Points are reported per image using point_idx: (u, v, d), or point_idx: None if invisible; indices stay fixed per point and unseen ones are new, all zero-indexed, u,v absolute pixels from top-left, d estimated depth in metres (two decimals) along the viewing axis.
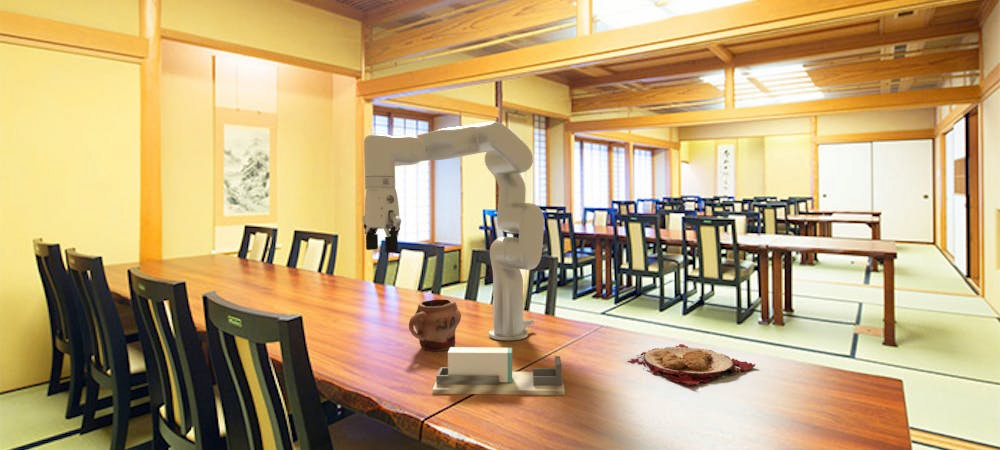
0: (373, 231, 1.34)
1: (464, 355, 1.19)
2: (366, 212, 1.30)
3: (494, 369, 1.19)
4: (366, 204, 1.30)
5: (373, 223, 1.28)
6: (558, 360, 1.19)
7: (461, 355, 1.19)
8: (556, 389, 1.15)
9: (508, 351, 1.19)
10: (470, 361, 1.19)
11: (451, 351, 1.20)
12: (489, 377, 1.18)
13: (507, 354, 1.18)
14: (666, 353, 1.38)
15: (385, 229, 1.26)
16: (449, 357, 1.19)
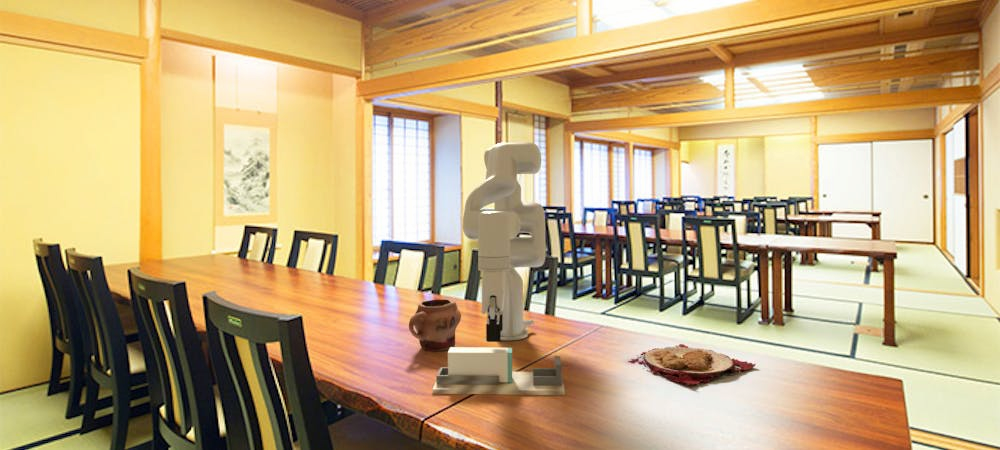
0: None
1: (464, 355, 1.19)
2: (503, 296, 1.16)
3: (494, 369, 1.19)
4: (503, 287, 1.16)
5: None
6: (558, 360, 1.19)
7: (461, 355, 1.19)
8: (556, 389, 1.15)
9: (508, 351, 1.19)
10: (470, 361, 1.19)
11: (451, 351, 1.20)
12: (489, 377, 1.18)
13: (507, 354, 1.18)
14: (666, 353, 1.38)
15: None
16: (449, 357, 1.19)
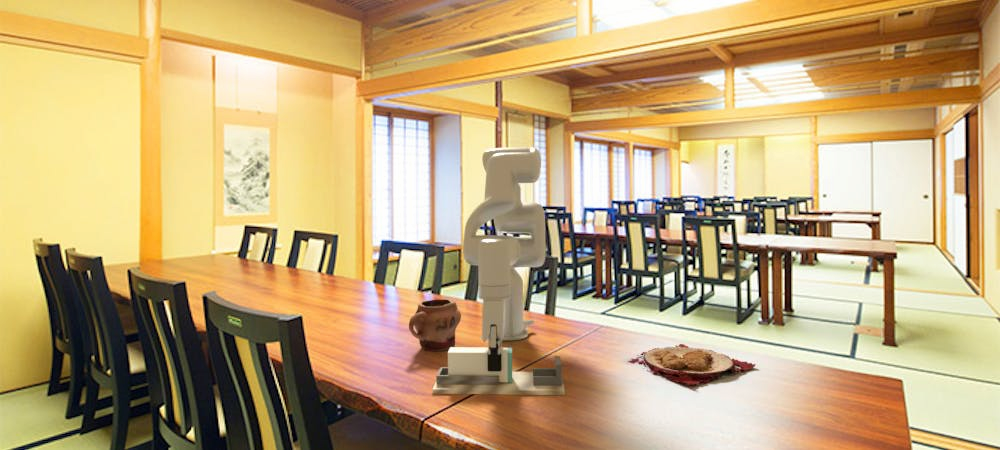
0: None
1: (464, 355, 1.19)
2: (503, 325, 1.17)
3: None
4: (503, 316, 1.17)
5: None
6: (558, 360, 1.19)
7: (461, 355, 1.19)
8: (556, 389, 1.15)
9: (508, 351, 1.19)
10: (470, 361, 1.19)
11: (451, 351, 1.20)
12: (489, 377, 1.18)
13: (507, 354, 1.18)
14: (666, 353, 1.38)
15: None
16: (449, 357, 1.19)
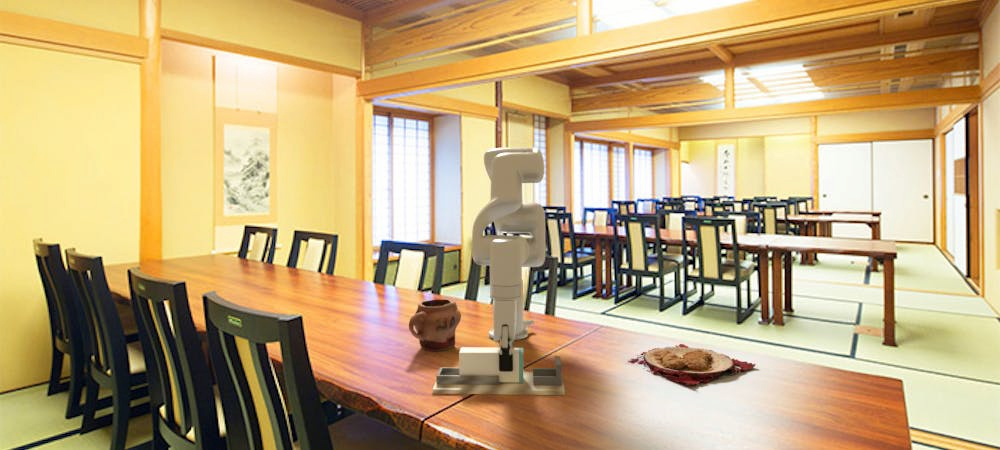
0: None
1: (475, 355, 1.19)
2: (515, 325, 1.16)
3: None
4: (515, 316, 1.16)
5: None
6: (558, 360, 1.19)
7: (472, 355, 1.19)
8: (556, 389, 1.15)
9: (519, 351, 1.19)
10: (482, 361, 1.19)
11: (462, 351, 1.20)
12: (489, 377, 1.18)
13: (518, 354, 1.18)
14: (666, 353, 1.38)
15: None
16: (460, 357, 1.19)
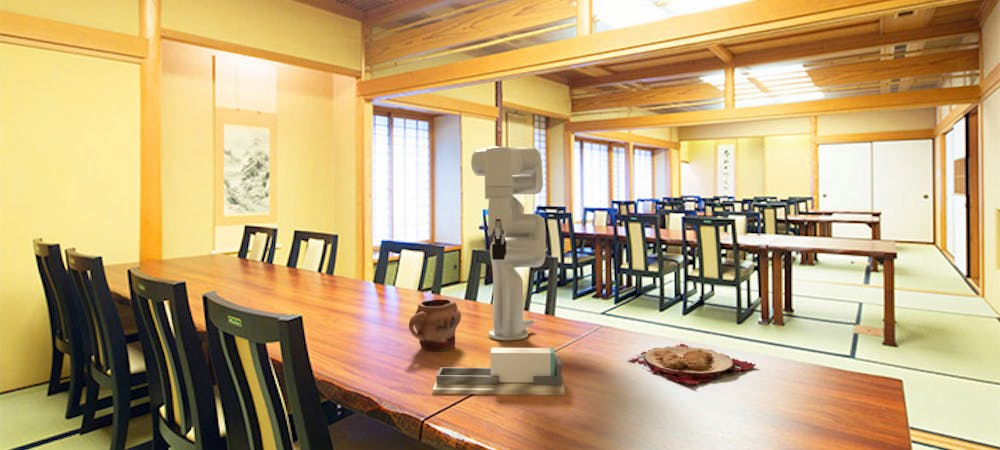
0: None
1: (507, 355, 1.18)
2: (507, 221, 1.33)
3: (537, 369, 1.18)
4: (507, 213, 1.33)
5: (507, 230, 1.36)
6: (558, 360, 1.19)
7: (503, 355, 1.18)
8: (556, 389, 1.15)
9: (550, 351, 1.19)
10: (513, 362, 1.18)
11: (493, 351, 1.19)
12: (489, 377, 1.18)
13: (550, 354, 1.18)
14: (666, 353, 1.38)
15: None
16: (492, 357, 1.18)
